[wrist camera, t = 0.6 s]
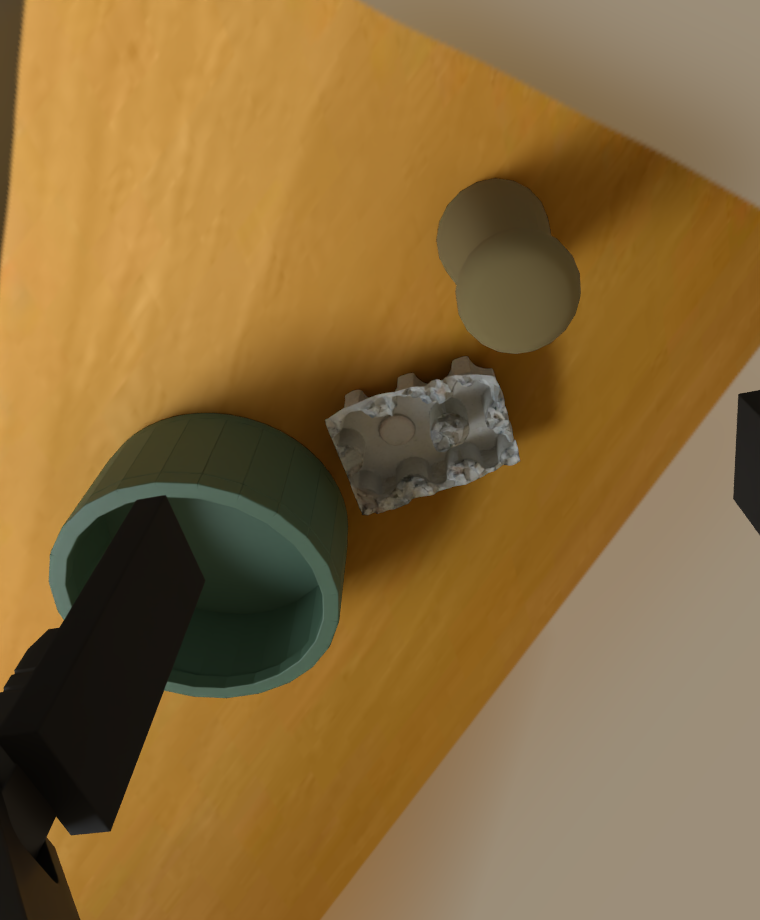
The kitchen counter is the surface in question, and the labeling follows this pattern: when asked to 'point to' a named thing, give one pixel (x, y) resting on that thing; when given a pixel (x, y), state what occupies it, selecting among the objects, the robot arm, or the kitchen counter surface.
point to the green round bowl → (226, 546)
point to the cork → (507, 267)
